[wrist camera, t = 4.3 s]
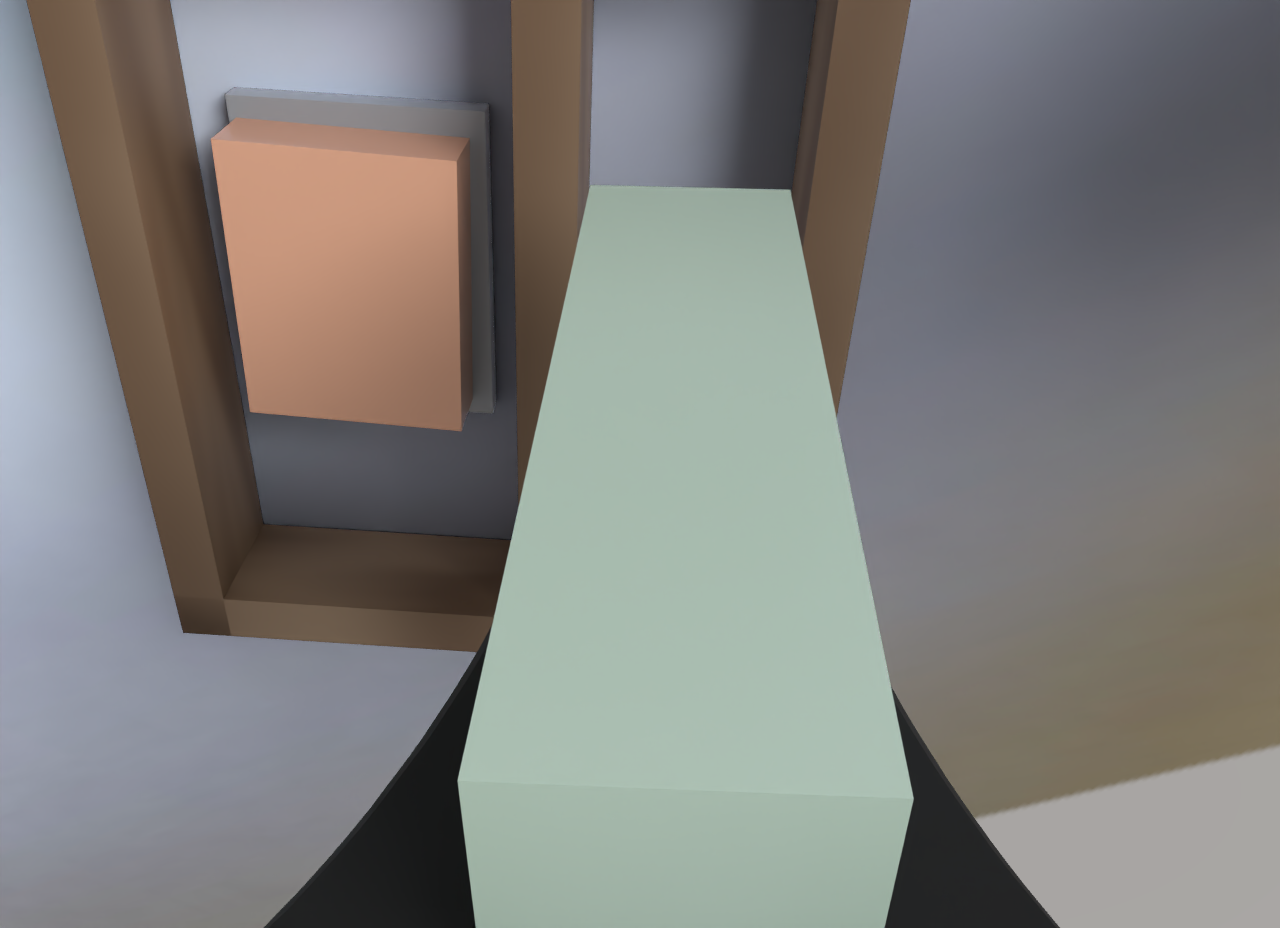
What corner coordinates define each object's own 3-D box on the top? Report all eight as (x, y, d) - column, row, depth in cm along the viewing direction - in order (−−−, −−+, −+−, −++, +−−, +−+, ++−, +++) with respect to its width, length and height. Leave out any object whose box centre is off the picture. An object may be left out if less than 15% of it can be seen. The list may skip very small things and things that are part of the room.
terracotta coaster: (469, 137, 19) (456, 161, 18) (472, 398, 22) (461, 431, 21) (237, 116, 19) (210, 138, 18) (270, 380, 22) (250, 412, 21)
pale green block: (790, 189, 13) (913, 798, 6) (747, 671, 18) (786, 1363, 10) (591, 184, 13) (456, 781, 6) (597, 666, 18) (527, 1350, 10)
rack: (908, -174, 16) (939, -158, 14) (783, 592, 25) (791, 672, 23) (63, -226, 16) (-28, -218, 14) (225, 556, 25) (182, 632, 23)
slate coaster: (495, 91, 20) (484, 111, 19) (501, 383, 23) (493, 413, 22) (248, 75, 20) (225, 95, 19) (291, 369, 23) (273, 398, 22)
